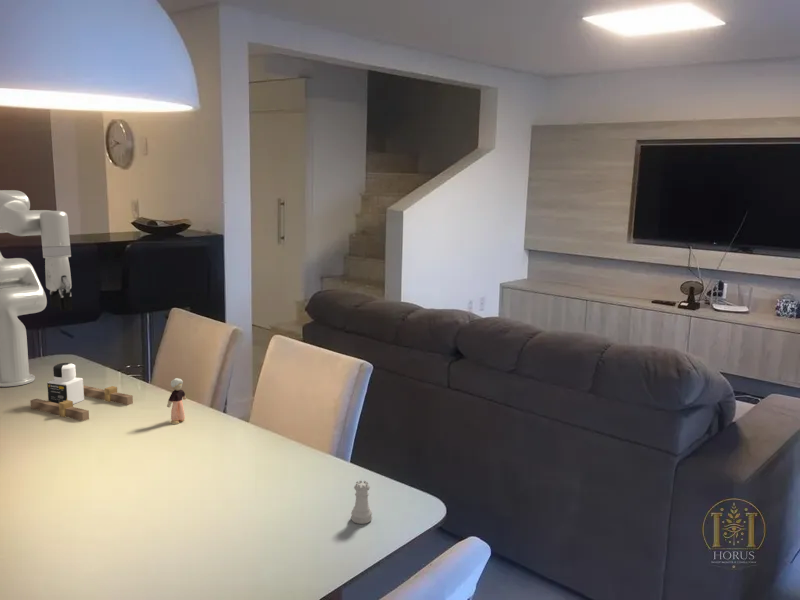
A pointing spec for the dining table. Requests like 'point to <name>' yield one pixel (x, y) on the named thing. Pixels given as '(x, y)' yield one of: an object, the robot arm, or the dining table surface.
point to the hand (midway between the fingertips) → (61, 308)
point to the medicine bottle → (65, 384)
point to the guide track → (76, 413)
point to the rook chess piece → (361, 504)
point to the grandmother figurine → (177, 402)
